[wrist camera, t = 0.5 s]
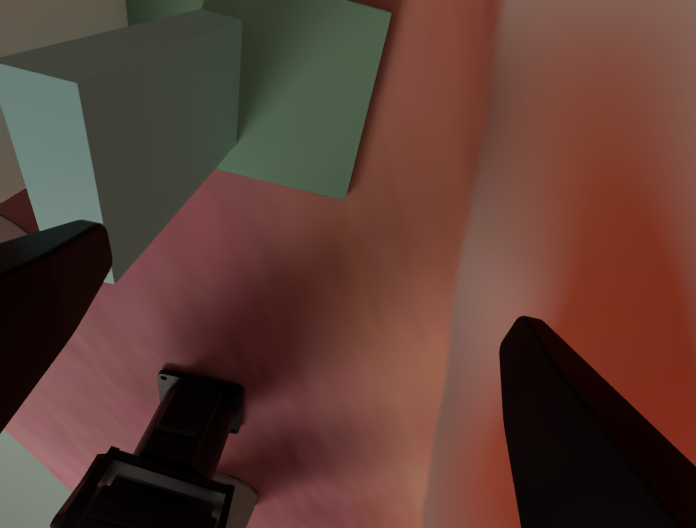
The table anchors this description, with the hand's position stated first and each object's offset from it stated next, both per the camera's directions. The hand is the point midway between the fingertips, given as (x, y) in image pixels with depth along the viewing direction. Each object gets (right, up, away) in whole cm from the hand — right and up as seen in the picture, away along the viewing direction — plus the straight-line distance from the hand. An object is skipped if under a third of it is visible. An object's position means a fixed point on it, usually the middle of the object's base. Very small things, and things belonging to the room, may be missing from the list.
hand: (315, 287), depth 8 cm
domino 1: (-5, +8, +9) cm, 13 cm away
